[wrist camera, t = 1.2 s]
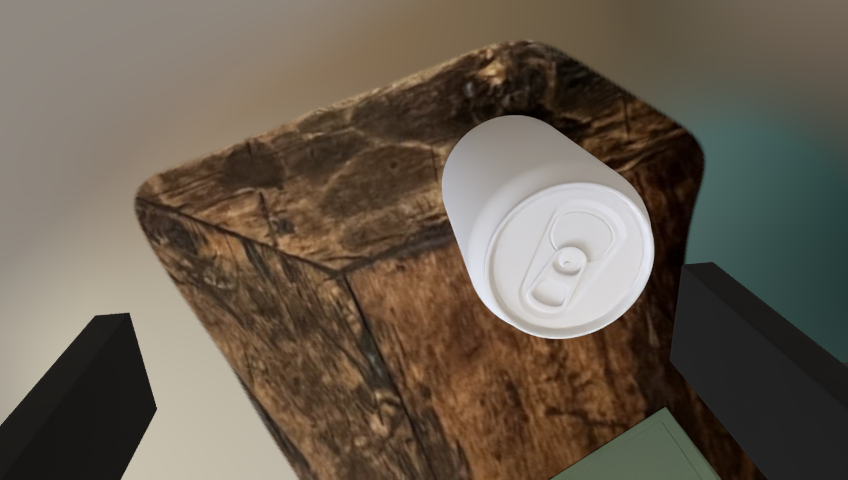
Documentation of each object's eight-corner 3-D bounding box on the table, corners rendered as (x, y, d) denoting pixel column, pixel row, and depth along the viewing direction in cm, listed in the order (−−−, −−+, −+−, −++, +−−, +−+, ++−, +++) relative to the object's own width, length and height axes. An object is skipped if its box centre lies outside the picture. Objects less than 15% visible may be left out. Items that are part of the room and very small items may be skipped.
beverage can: (597, 146, 35) (704, 216, 24) (532, 260, 37) (601, 371, 26) (477, 89, 33) (532, 136, 22) (417, 213, 35) (440, 312, 24)
